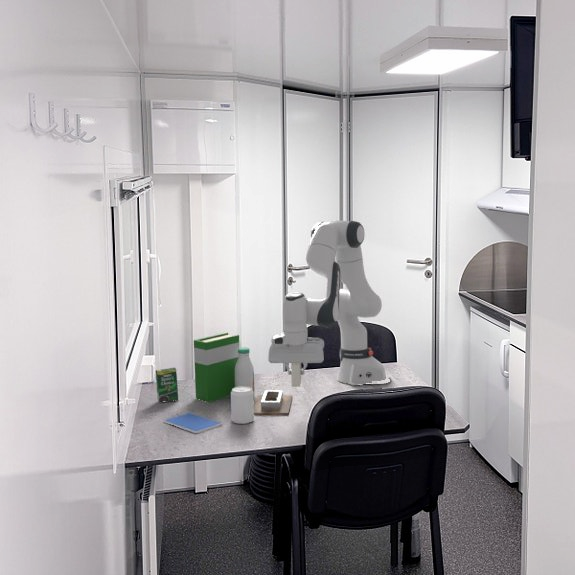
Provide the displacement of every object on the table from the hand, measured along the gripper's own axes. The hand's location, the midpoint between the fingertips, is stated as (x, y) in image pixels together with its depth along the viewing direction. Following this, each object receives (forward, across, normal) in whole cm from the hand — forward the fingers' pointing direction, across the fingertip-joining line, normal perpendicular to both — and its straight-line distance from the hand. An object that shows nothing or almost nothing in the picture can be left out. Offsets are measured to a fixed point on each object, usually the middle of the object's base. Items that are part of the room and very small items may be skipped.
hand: (296, 374), depth 275 cm
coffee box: (+15, +52, -15) cm, 56 cm away
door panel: (+3, 0, 0) cm, 3 cm away
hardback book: (+15, +33, -23) cm, 43 cm away
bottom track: (+15, +10, -10) cm, 21 cm away
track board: (+15, +10, -10) cm, 21 cm away
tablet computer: (+16, +37, +11) cm, 42 cm away
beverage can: (+15, +19, +8) cm, 26 cm away
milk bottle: (+15, +22, -21) cm, 34 cm away
